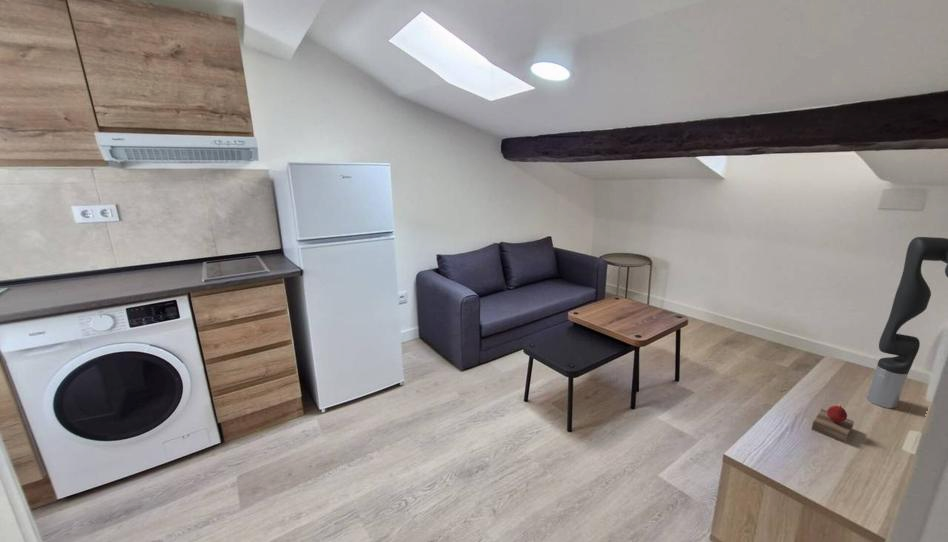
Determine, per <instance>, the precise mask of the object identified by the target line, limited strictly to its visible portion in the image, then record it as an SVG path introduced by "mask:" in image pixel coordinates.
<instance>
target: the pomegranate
mask: <svg viewBox="0 0 948 542" xmlns="http://www.w3.org/2000/svg"><path fill="white" fill-rule="evenodd" d="M826 411H827V415H828V417H829V418H830V419H831V420H833V421H834V422H843V421H845V420H846V418H847V417H848V414H847V411H846V409H844V408H843V407H842V405H841V404H839V403H838V404H837V405H832V406H830V407H829V408H828V409H827V410H826ZM847 419H848V418H847Z"/></svg>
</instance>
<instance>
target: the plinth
mask: <svg viewBox="0 0 948 542" xmlns="http://www.w3.org/2000/svg"><path fill="white" fill-rule="evenodd" d="M854 424H855V421H854V420H851V419H849V418H846V420H845V421H843V422H834V421H833V420H831V419H830V418H829V417H828V415H827V410H825V409H820V411H819V412H818V414H817V415H816V417H815V419H814V420H813V422H812V426H811V430H812V431H815V432H817V433H820V434H822V435H824V436H827V437H829V438H831V439H834V440H836V441H838V442H840V443H843V444H845V443H846V441H847V440H848V437H849V436H850V433H852V430H853V427H854Z"/></svg>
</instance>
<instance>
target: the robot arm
mask: <svg viewBox="0 0 948 542" xmlns="http://www.w3.org/2000/svg"><path fill="white" fill-rule="evenodd" d="M924 261H930V262H943V263H945V264H946V266H945V268H944V273H945V276H946V278H948V238H946V237H935V236H934V237H931V236H929V237H928V236H915V237H914V238H913V239H911V241H910V242H909V244H908V245H907V250H906V254H905V260H904V266H903V271H902V274H901V278H900V281H899V283H898V286H897V289H896V293H895V295H894V298H893V303H892V305H891V306H892V307H891V310H890V314H889V316H888V319H887V321H886V324H885V326H884V329H883V331H882V333H881V336H880V338H879V341H878V349H879V352H882V353H883V354H888V355H892V357H891V356H890V357H882V358H879V359H878V361H877V364H876V368H875V372H874V373H873V377H872V380H871V383H870V385H869V389H868V392H867V395H866V399H867V400H868V401H869V402H870V403H872V404H874V405H875V406H880V407H882V408H887V409H896V408H897V406H898V402H899V401H900V397H901V394H902V392H903V389H904V386H905V384H906V381H907V378H908V377H909V373H910V370H911V369H912V366H913V363H914V360H915V359H916V357H917V355H918V352H919V350H920V346H921V343H920V339H919V338H918V337H916V336H913V335H907V334H903V333H898V331H899V330H900V328H901V327H902V326H903V325H905V324H906V323H907V322H909V321H910V320H912V319H914V318H916V317H918V316H919V315H920V314H922V313H923V312H925V310H926V309H927V307H928V305H929V303H930V300H931V296H932V292H931V289H930V286H929V285H928V283H927V282H926V280H925V278H924V277H923V274H922V264H923V262H924ZM893 355H894V356H893Z"/></svg>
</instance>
